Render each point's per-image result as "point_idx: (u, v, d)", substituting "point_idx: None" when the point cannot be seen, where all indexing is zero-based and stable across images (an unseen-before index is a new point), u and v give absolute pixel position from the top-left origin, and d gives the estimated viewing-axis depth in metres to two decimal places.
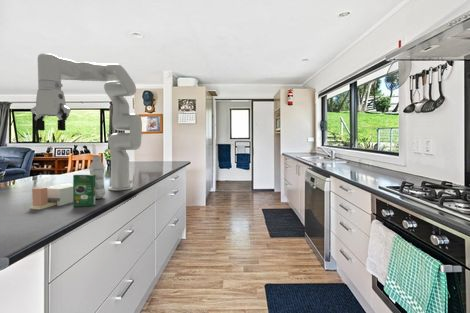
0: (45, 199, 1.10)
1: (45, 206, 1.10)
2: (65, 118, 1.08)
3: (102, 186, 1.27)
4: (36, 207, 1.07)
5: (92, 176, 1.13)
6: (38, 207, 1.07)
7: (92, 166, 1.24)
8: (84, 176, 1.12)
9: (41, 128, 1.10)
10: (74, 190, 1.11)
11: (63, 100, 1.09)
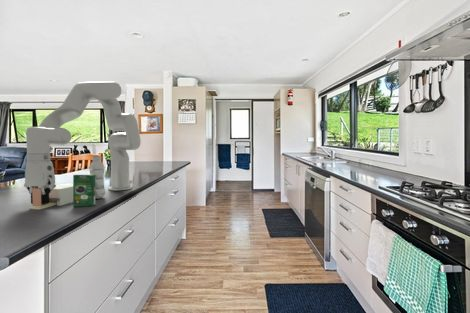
0: None
1: (45, 206, 1.10)
2: (49, 192, 1.09)
3: (102, 186, 1.27)
4: (36, 207, 1.07)
5: (92, 176, 1.13)
6: (38, 207, 1.07)
7: (92, 166, 1.24)
8: (84, 176, 1.12)
9: None
10: (74, 190, 1.11)
11: (52, 171, 1.10)
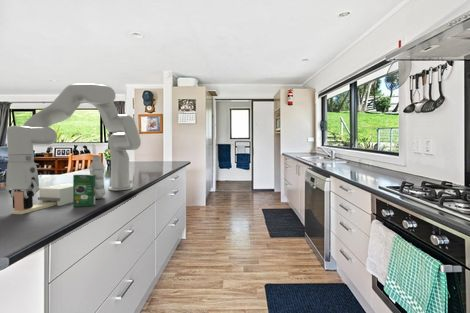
0: None
1: (28, 211, 1.03)
2: (32, 195, 1.02)
3: (102, 186, 1.27)
4: (18, 212, 1.00)
5: (92, 176, 1.13)
6: (20, 212, 1.00)
7: (92, 166, 1.24)
8: (84, 176, 1.12)
9: None
10: (74, 190, 1.11)
11: (35, 173, 1.02)
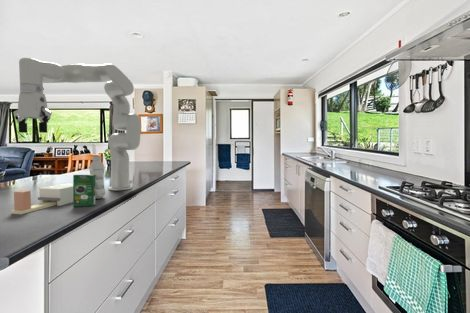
0: (28, 203, 1.03)
1: (28, 211, 1.03)
2: (46, 121, 1.11)
3: (102, 186, 1.27)
4: (18, 212, 1.00)
5: (92, 176, 1.13)
6: (20, 212, 1.00)
7: (92, 166, 1.24)
8: (84, 176, 1.12)
9: (23, 130, 1.13)
10: (74, 190, 1.11)
11: (45, 103, 1.11)
